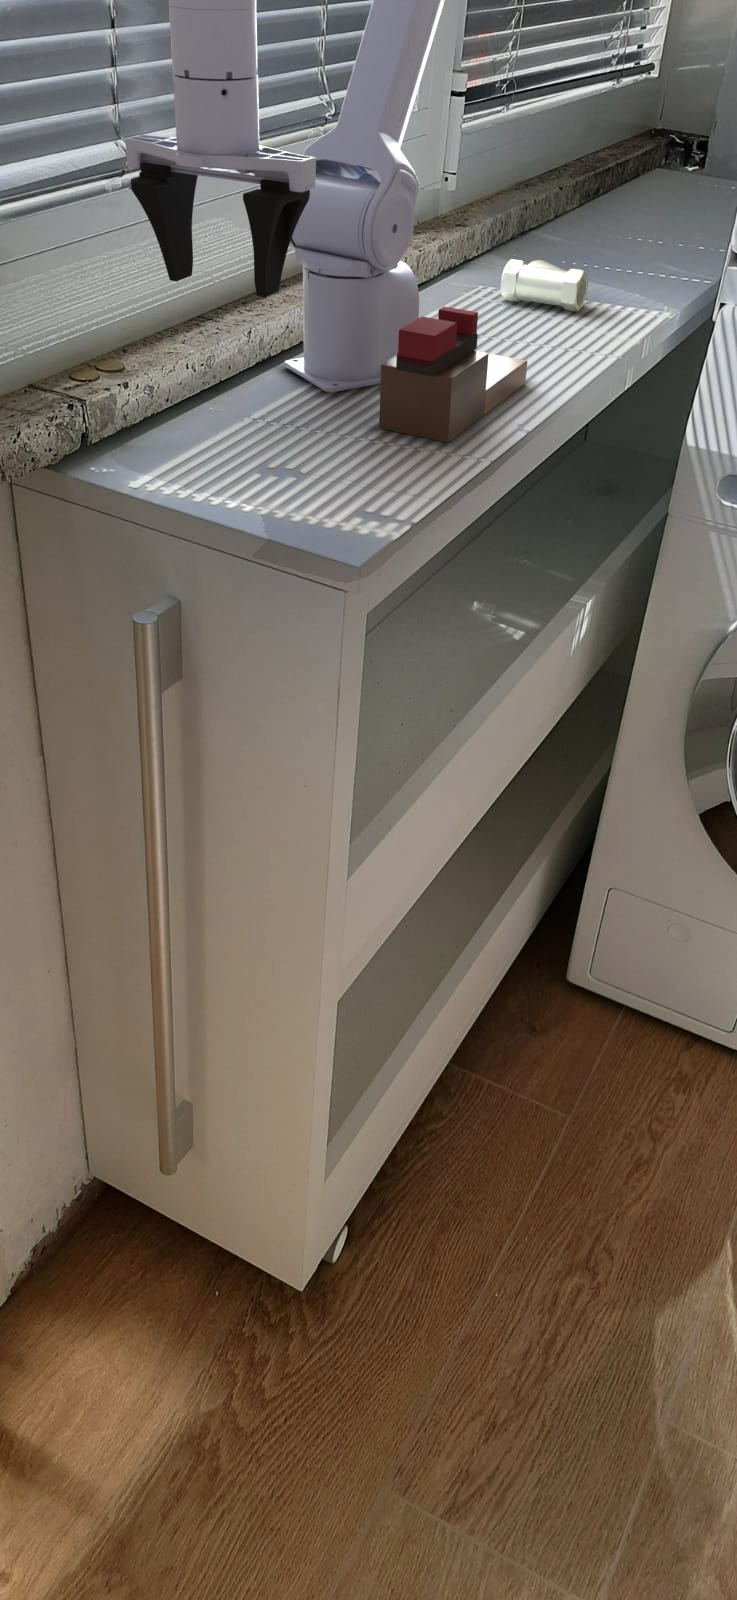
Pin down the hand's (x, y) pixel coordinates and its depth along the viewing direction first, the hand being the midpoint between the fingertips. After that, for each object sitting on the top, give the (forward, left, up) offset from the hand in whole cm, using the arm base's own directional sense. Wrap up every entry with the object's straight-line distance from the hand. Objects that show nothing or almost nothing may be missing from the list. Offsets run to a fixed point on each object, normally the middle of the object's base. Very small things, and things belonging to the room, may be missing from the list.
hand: (223, 285), depth 93 cm
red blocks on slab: (-15, +7, -5) cm, 17 cm away
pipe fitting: (-44, -16, -11) cm, 48 cm away
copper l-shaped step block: (-18, +5, -10) cm, 22 cm away
